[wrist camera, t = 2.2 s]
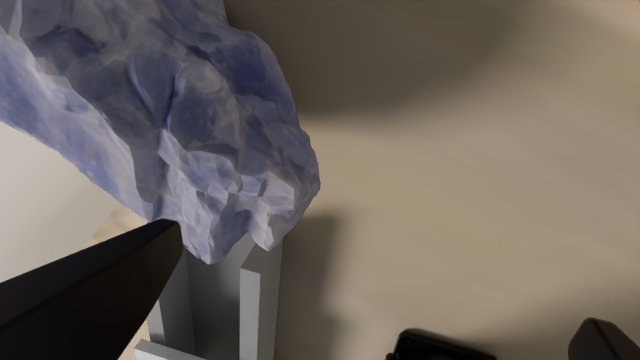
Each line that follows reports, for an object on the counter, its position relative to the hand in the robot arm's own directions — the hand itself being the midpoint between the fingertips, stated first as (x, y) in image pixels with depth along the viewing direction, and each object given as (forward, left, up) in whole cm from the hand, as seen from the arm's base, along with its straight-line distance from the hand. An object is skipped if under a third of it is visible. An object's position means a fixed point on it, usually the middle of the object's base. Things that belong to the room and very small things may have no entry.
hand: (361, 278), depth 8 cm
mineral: (+9, 0, -12) cm, 15 cm away
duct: (+9, +18, -12) cm, 24 cm away
